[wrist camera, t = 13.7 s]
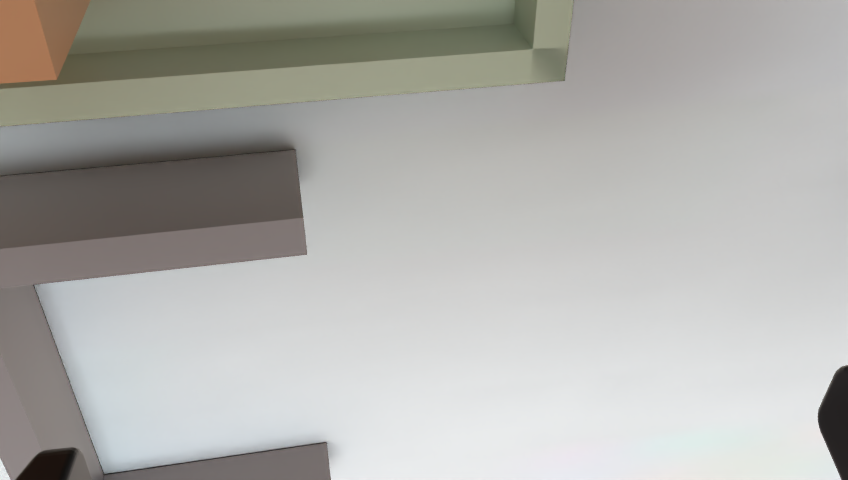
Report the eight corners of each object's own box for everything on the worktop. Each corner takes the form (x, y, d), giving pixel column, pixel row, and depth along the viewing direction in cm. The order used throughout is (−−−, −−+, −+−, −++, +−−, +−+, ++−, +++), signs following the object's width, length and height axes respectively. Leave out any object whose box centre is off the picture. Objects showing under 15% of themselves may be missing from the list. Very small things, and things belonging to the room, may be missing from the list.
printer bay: (295, 149, 20) (303, 217, 17) (328, 462, 27) (337, 541, 24) (-53, 181, 18) (-96, 258, 16) (78, 499, 26) (62, 586, 23)
